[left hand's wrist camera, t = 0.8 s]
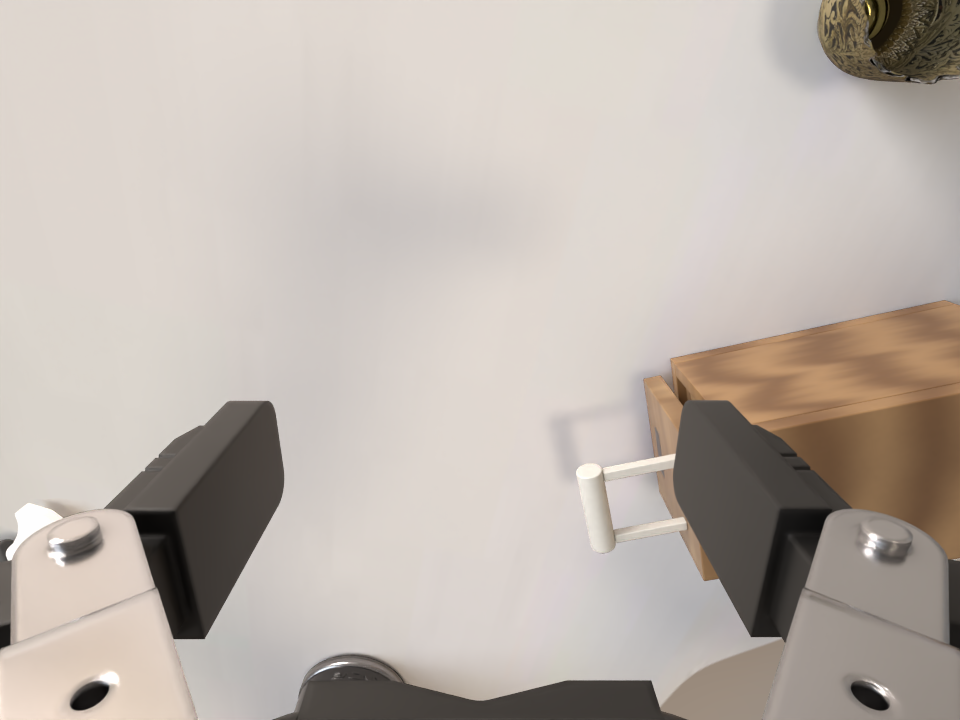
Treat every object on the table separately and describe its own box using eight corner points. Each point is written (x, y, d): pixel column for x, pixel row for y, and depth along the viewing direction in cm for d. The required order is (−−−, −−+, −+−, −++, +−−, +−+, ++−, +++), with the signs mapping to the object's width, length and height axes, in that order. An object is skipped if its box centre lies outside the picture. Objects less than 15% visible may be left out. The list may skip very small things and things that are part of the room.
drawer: (579, 507, 42) (603, 599, 34) (556, 396, 39) (576, 468, 31) (895, 446, 40) (1004, 528, 32) (900, 324, 37) (1023, 379, 29)
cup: (748, 33, 32) (830, 2, 24) (855, -94, 29) (981, -172, 22) (835, 122, 33) (937, 118, 26) (942, 7, 31) (1086, -33, 24)
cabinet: (685, 485, 43) (749, 595, 33) (670, 358, 39) (737, 437, 29) (935, 437, 41) (1085, 536, 31) (944, 299, 37) (1119, 361, 27)
